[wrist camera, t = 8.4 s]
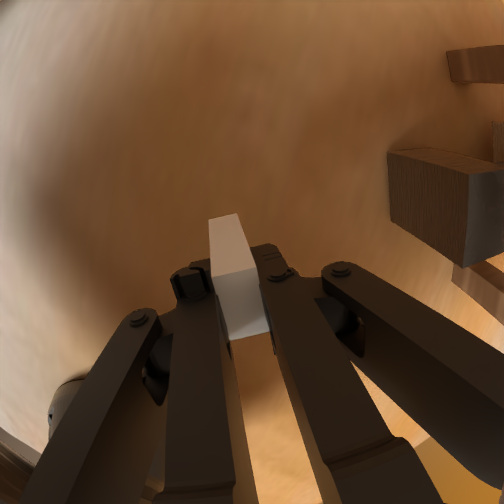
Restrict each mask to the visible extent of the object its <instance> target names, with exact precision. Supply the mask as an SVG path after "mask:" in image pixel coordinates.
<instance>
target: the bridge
mask: <svg viewBox="0 0 504 504" xmlns="http://www.w3.org/2000/svg"><path fill="white" fill-rule="evenodd" d="M446 53H447V58H448V63H449V68H450V74H451V80H452V81H456V82H464V83H496V84H504V45H496V46H486V47H477V48H469V49H461V50H455V51H448V52H446ZM452 282H453V283H454V284H456V285H457V286H458V287H459V288H461V289H462V290H463V291H464V292H465V293H467V294H468V295H469V296H470V297H471V298H473V299H474V300H475V301H476V302H477V303H479V304H480V305H481V306H482V307H483V308H484V309H486V310H487V311H488V312H489V313H490V314H491V315H492V316H494V317H495V318H496V319H497V320H498V321H499V322H500V323H501V324H502V325H504V273H503V272H502V271H500V270H499V269H497V268H496V267H494V266H493V265H491V264H490V263H488V262H487V261H485V260H483V261H481V262H478V263H476V264H473V265H471V266H468V267H465V268H463V269H462V268H460V267H459V266H458V265H456V264H455V263H454V269H453V276H452Z"/></svg>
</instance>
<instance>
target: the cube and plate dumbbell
mask: <svg viewBox="0 0 504 504" xmlns="http://www.w3.org/2000/svg"><path fill="white" fill-rule="evenodd" d="M492 137H493V163H491V162H488V161H484V160H480V159H477V158H473V157H469V156H465V155H461V154H457V153H452V152H448V151H444V150H439V149H434V148H420V149H410V150H400V151H391V152H387V162H388V175H389V192H390V218H391V221H392V222H393V223H395V224H397V225H398V226H400V227H401V228H403V229H404V230H406V231H408V232H409V233H411V234H412V235H414V236H415V237H417V238H418V239H420V240H421V241H423V242H424V243H426V244H427V245H429V246H430V247H432V248H433V249H435V250H436V251H438V252H439V253H441V254H442V255H443V256H445V257H446V258H448V259H449V260H451V261H452V262H453V263H455V264H456V265H458V266H459V267H460V268H462V269H463V268H465V267H468V266H471V265H473V264H476V263H478V262H481V261H483V260H486V259H488V258H491V257H493V256H496V255H498V254H500V253H503V252H504V123H501V122H492Z"/></svg>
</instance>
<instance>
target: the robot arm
mask: <svg viewBox="0 0 504 504" xmlns="http://www.w3.org/2000/svg"><path fill="white" fill-rule="evenodd" d="M209 241H210V258H208V259H204V260H200V261H195V262H191V264H190V265H189V266H188V267H185V268H182V269H180V270H178V271H176V272H175V273H174V274H173V275H172V276H171V278H170V281H171V284H172V287H173V290H174V293H175V296H176V298H177V305H176V308H175V309H173V310H172V311H170V312H168V313H165V314H163V315H161V316H158V315H157V313H156V311H155V310H153V309H149V308H145V309H138V310H137V311H136V310H135V311H133V312H132V313H131V314H129V315H127V316H126V317H125V318H124V320H123V321H122V322H121V324H120V325H119V327H118V328H117V330H116V331H115V333H114V334H113V336H112V337H111V339H110V340H109V342H108V343H107V345H106V346H105V348H104V350H103V351H102V353H101V354H100V356H99V357H98V359H97V361H96V362H95V364H94V365H93V367H92V368H91V370H90V372H89V373H88V375H87V377H86V378H85V380H77V381H72V382H69V383H66V384H64V385H62V386H61V387H60V388H58V390H57V391H56V392H55V394H54V397H53V399H52V402H51V404H50V407H49V411H48V423H49V442H48V444H47V446H46V448H45V449H44V451H43V453H42V455H41V457H40V459H39V461H38V463H37V465H36V466H35V465H34V464H32V463H31V462H30V461H28V460H27V459H25V458H24V457H23V456H21V455H20V454H18V453H17V452H16V451H15V450H13V449H12V448H11V447H10V446H8V445H7V444H6V443H5V442H3V441H2V440H1V439H0V504H259V502H258V497H257V491H256V486H255V481H254V476H253V471H252V465H251V460H250V455H249V449H248V444H247V438H246V432H245V427H244V421H243V415H242V409H241V403H240V397H239V391H238V385H237V378H236V372H235V366H234V359H233V353H232V348H231V344H230V341H231V340H236V339H240V338H244V337H249V336H253V335H257V334H261V333H265V332H269V331H270V336H271V340H272V345H273V350H274V355H276V356H277V359H278V363H279V366H280V369H281V372H282V375H283V378H284V382H285V385H286V388H287V391H288V394H289V397H290V401H291V404H292V407H293V410H294V413H295V416H296V419H297V422H298V426H299V429H300V432H301V435H302V438H303V441H304V444H305V447H306V451H307V454H308V457H309V460H310V463H311V466H312V469H313V472H314V475H315V478H316V482H317V485H318V488H319V491H320V494H321V497H322V500H323V504H446V503H443V501H442V499H441V497H440V495H439V493H438V492H437V490H436V488H435V486H434V484H433V482H432V480H431V479H430V477H429V475H428V473H427V471H426V470H425V468H424V466H423V464H422V463H421V461H420V459H419V457H418V455H417V454H416V452H415V450H414V449H413V447H412V446H411V444H410V443H409V442H408V441H407V440H406V439H404V438H403V437H395V436H394V435H392V433H391V432H390V430H389V429H388V427H387V425H386V423H385V421H384V420H383V418H382V416H381V414H380V412H379V411H378V409H377V407H376V405H375V403H374V402H373V400H372V398H371V396H370V395H369V393H368V391H367V389H366V388H365V386H364V384H363V382H362V380H361V379H360V377H359V375H358V373H357V372H356V370H355V368H354V367H353V365H352V363H354V364H355V365H356V366H357V367H358V368H359V369H360V370H361V371H362V372H363V373H364V374H365V375H366V376H367V377H368V378H369V379H370V380H372V381H373V382H374V383H375V384H376V385H377V386H378V387H379V388H380V389H381V390H382V391H383V392H384V393H385V394H386V395H387V396H389V397H390V398H391V399H392V400H393V401H394V402H395V403H396V404H397V405H398V406H399V407H400V408H401V409H402V410H403V411H405V412H406V413H407V414H408V415H409V416H410V417H411V418H412V419H413V420H414V421H415V422H416V423H417V424H418V425H420V426H421V427H422V428H423V429H424V430H425V431H426V432H427V433H428V434H429V435H430V436H431V437H432V438H434V439H435V440H436V441H437V442H438V443H439V444H440V445H441V446H442V447H443V448H444V449H445V450H447V451H448V452H449V453H450V454H451V455H452V456H453V457H454V458H455V459H456V460H457V461H458V462H460V463H461V464H462V465H463V466H464V467H465V468H466V469H467V470H468V471H470V472H471V473H472V474H474V475H475V476H476V477H477V478H479V479H480V480H482V481H484V482H485V483H487V484H489V485H490V486H492V487H494V488H497V489H500V490H502V495H501V496H500V499H499V504H504V354H503V353H501V352H500V351H498V350H497V349H495V348H494V347H492V346H490V345H489V344H487V343H486V342H484V341H483V340H481V339H480V338H478V337H476V336H475V335H473V334H472V333H470V332H469V331H467V330H465V329H464V328H462V327H461V326H459V325H457V324H456V323H454V322H453V321H451V320H449V319H448V318H446V317H444V316H443V315H441V314H440V313H438V312H436V311H435V310H433V309H431V308H430V307H428V306H426V305H425V304H423V303H421V302H420V301H418V300H416V299H415V298H413V297H411V296H410V295H408V294H406V293H405V292H403V291H401V290H399V289H398V288H396V287H394V286H393V285H391V284H389V283H388V282H386V281H384V280H382V279H381V278H379V277H377V276H375V275H374V274H372V273H370V272H368V271H367V270H365V269H363V268H361V267H360V266H358V265H356V264H353V263H351V262H344V261H340V262H335V263H332V264H329V265H327V266H325V267H324V268H323V269H322V271H321V276H322V277H315V278H305V277H300V275H299V274H298V272H297V271H296V270H295V269H293V268H290V267H288V265H287V263H286V262H285V260H284V258H283V257H282V255H281V253H280V251H279V250H278V248H277V246H274V245H272V244H270V243H269V244H264V245H260V246H256V247H251V248H249V245H248V243H247V240H246V237H245V235H244V232H243V229H242V226H241V224H240V221H239V218H238V215H237V213H235V214H230V215H226V216H222V217H217V218H213V219H209ZM228 336H229V337H228ZM229 339H230V341H229ZM351 362H352V363H351ZM142 370H143V372H142Z"/></svg>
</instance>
